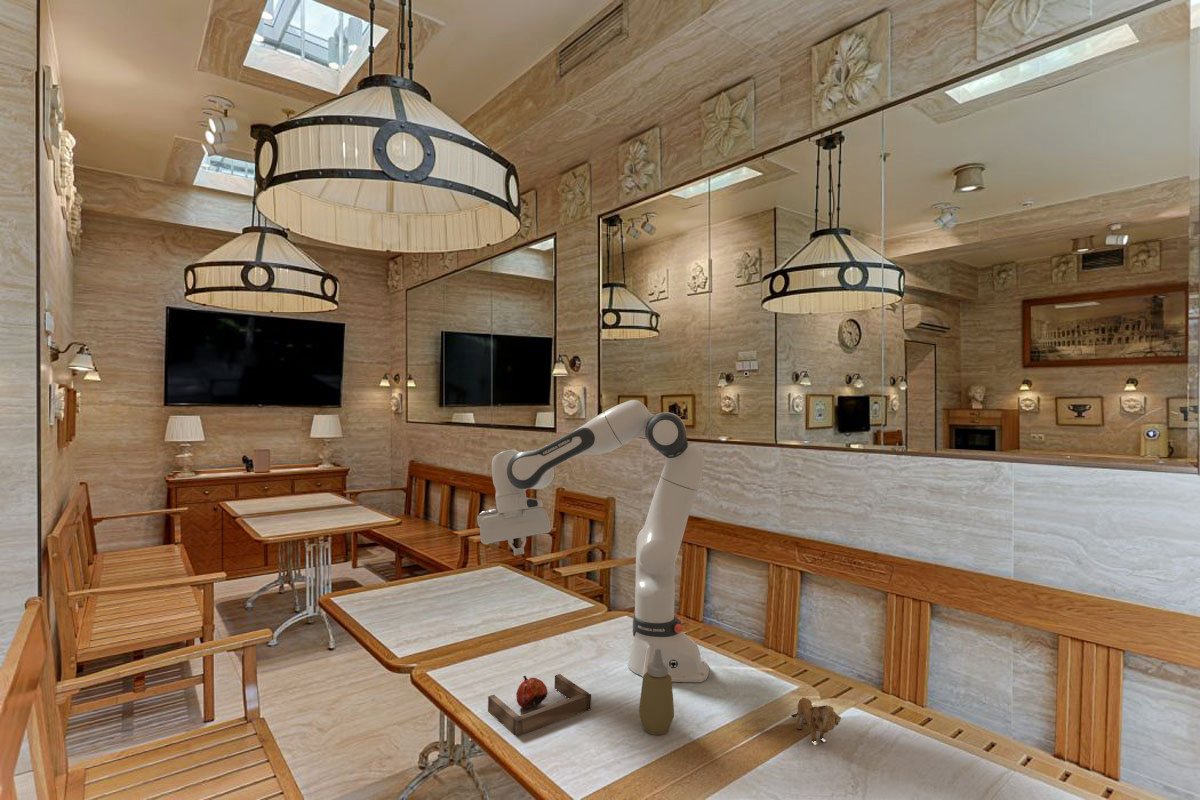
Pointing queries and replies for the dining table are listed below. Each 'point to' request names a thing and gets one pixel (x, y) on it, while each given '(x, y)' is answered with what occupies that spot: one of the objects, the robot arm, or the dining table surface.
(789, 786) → the dining table surface
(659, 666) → the squeeze bottle
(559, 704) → the walnut bay
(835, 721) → the lion figurine
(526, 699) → the red round fruit
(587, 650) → the dining table surface
